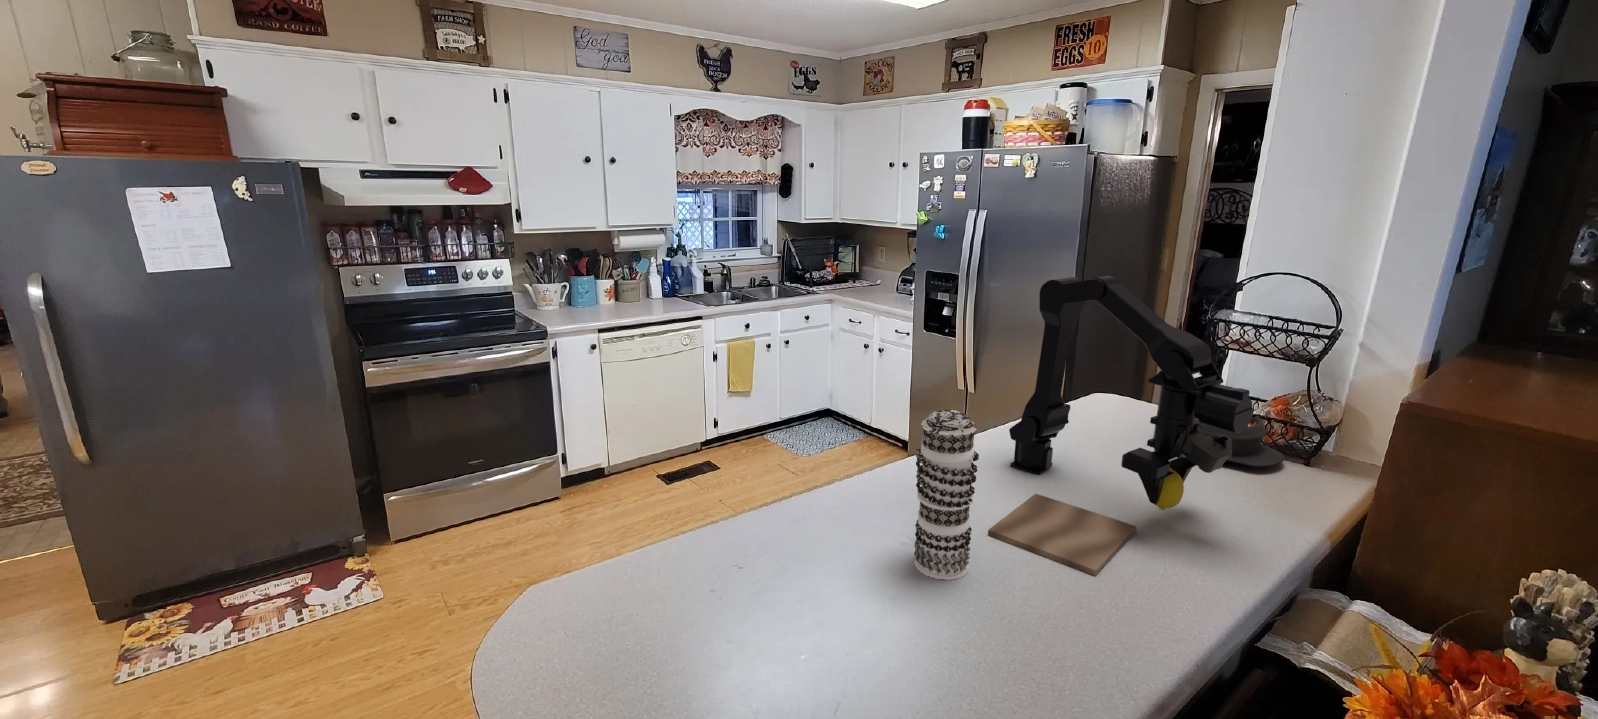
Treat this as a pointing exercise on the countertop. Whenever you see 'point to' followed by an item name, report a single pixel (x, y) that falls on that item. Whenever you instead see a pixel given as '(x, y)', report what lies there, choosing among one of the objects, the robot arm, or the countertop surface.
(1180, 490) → the lemon
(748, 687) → the countertop surface
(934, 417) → the decorative candle
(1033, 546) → the walnut board
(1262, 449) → the casserole
